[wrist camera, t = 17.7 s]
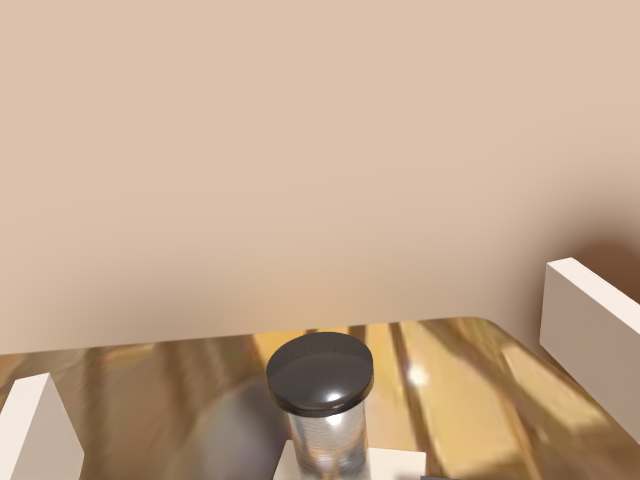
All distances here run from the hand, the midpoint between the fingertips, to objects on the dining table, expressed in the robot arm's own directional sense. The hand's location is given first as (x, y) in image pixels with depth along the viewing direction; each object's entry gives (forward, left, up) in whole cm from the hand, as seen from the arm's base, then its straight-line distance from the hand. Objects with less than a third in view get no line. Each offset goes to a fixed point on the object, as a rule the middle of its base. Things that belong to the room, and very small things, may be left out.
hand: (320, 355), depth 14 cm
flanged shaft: (-7, +19, -33) cm, 39 cm away
